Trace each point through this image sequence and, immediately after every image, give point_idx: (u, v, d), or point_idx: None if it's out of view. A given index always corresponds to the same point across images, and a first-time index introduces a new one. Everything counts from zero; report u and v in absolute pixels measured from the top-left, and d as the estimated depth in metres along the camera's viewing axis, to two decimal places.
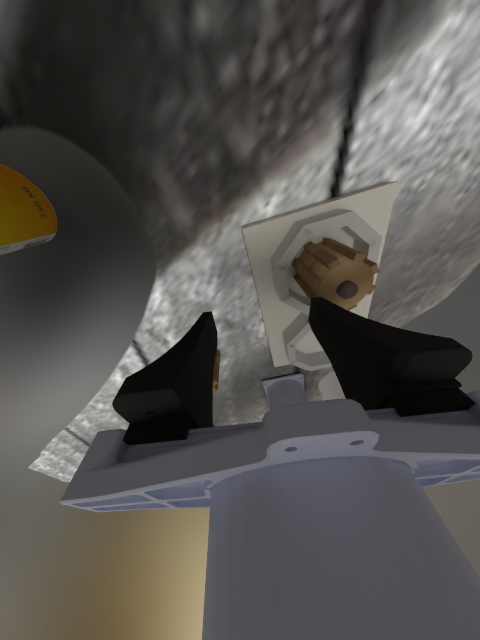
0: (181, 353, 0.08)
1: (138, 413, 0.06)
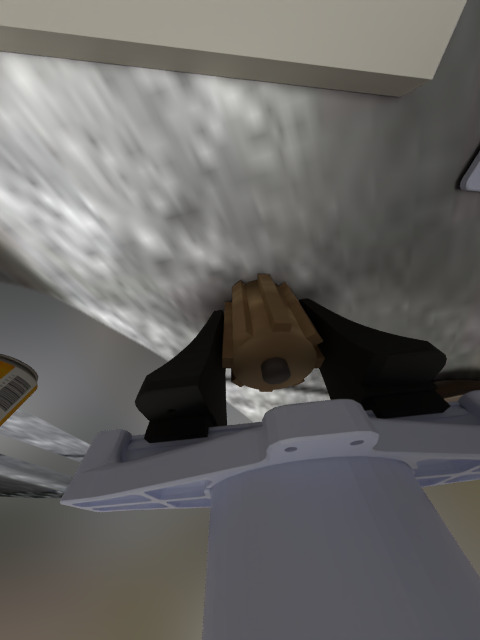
0: (198, 351, 0.08)
1: (159, 410, 0.06)
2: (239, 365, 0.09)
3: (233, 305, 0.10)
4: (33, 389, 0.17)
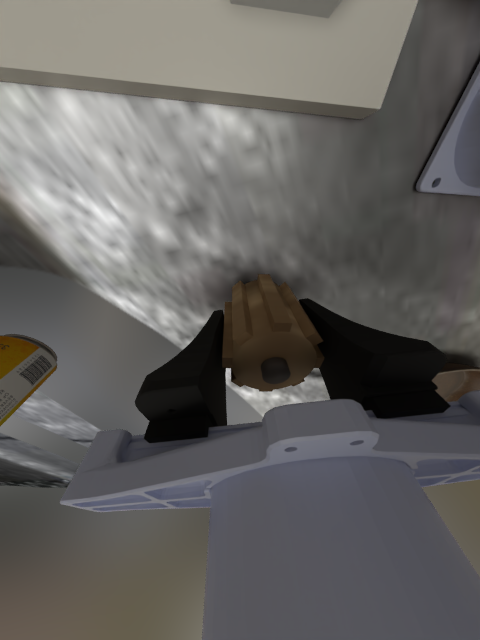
0: (198, 351, 0.08)
1: (159, 410, 0.06)
2: (239, 365, 0.09)
3: (233, 305, 0.10)
4: (53, 369, 0.19)
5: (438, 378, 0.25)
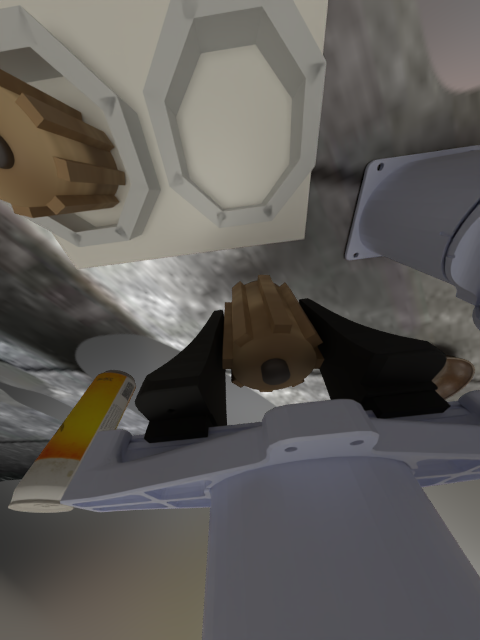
0: (198, 351, 0.08)
1: (159, 410, 0.06)
2: (239, 366, 0.09)
3: (233, 306, 0.11)
4: (134, 389, 0.29)
5: None
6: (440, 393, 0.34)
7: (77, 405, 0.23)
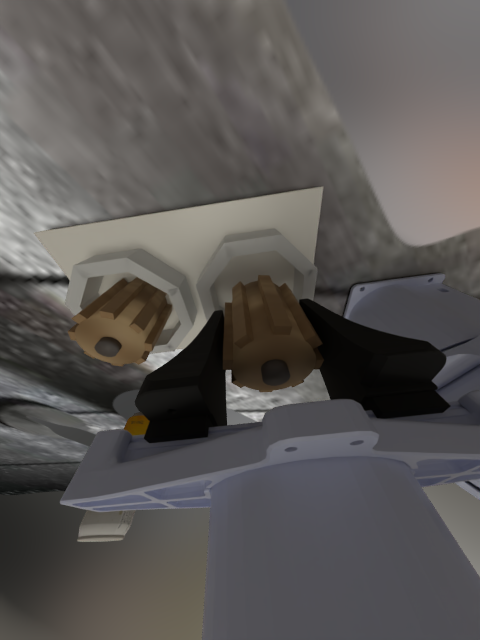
0: (198, 351, 0.08)
1: (159, 410, 0.06)
2: (239, 367, 0.09)
3: (233, 307, 0.11)
4: None
5: None
6: None
7: None
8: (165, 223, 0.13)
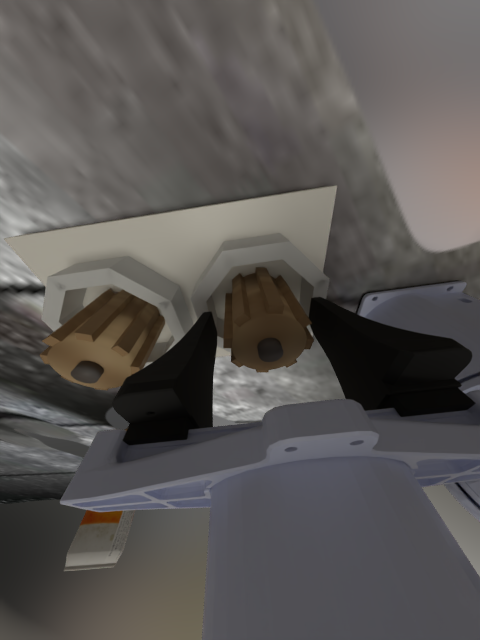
0: (181, 353, 0.08)
1: (137, 413, 0.06)
2: (238, 345, 0.10)
3: (233, 294, 0.12)
4: None
5: None
6: None
7: None
8: (155, 228, 0.12)
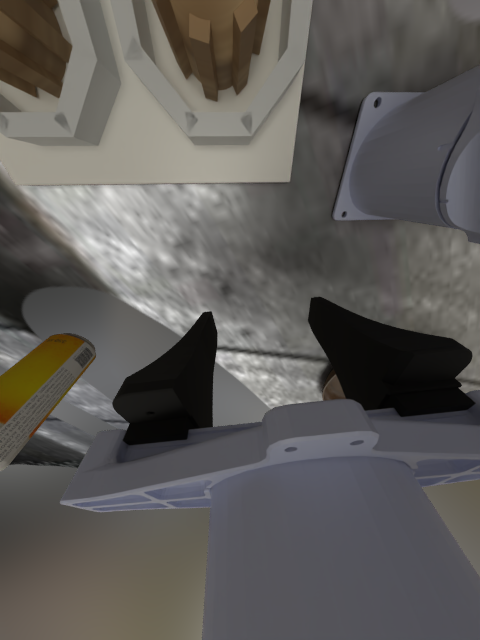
0: (181, 353, 0.08)
1: (138, 413, 0.06)
2: None
3: None
4: (94, 357, 0.26)
5: None
6: None
7: (15, 364, 0.20)
8: None
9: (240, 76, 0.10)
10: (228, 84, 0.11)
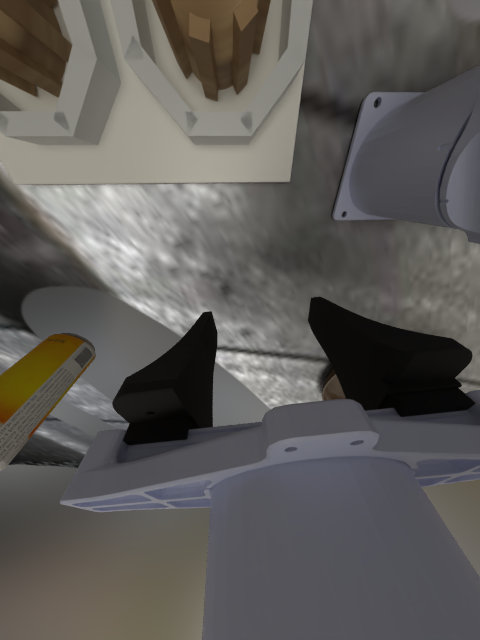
0: (181, 353, 0.08)
1: (138, 412, 0.06)
2: None
3: None
4: (93, 357, 0.26)
5: None
6: None
7: (15, 364, 0.20)
8: None
9: (240, 75, 0.10)
10: (228, 84, 0.11)
